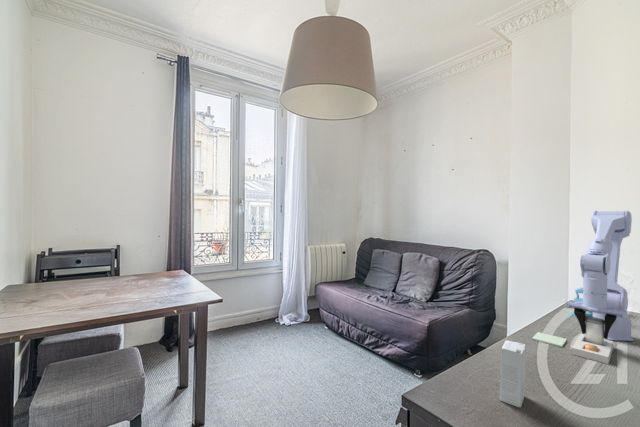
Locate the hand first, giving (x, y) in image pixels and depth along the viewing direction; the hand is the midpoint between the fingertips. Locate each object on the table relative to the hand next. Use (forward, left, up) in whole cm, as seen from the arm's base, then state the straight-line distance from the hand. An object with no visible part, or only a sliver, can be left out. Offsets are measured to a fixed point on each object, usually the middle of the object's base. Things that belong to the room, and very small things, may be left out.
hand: (594, 335), depth 96 cm
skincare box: (+42, +29, -4) cm, 51 cm away
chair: (-22, -30, -4) cm, 37 cm away
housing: (+3, +3, -4) cm, 5 cm away
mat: (+10, -5, -4) cm, 12 cm away
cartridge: (0, 0, -3) cm, 3 cm away
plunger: (+6, +6, -3) cm, 9 cm away
